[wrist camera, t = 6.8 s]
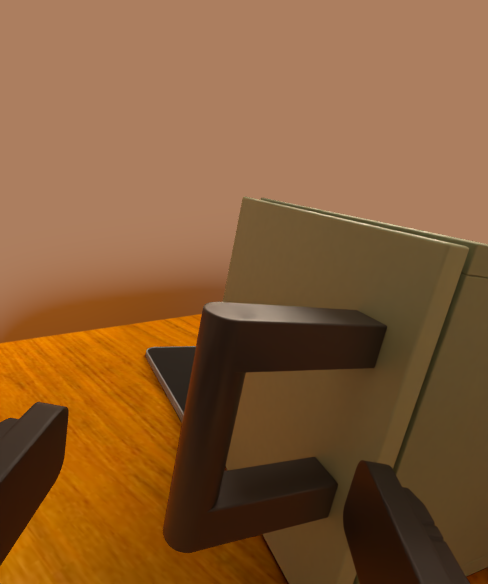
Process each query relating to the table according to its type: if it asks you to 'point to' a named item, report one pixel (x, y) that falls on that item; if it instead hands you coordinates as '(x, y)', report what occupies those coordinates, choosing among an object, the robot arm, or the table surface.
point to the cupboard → (451, 413)
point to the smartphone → (173, 372)
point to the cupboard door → (304, 381)
